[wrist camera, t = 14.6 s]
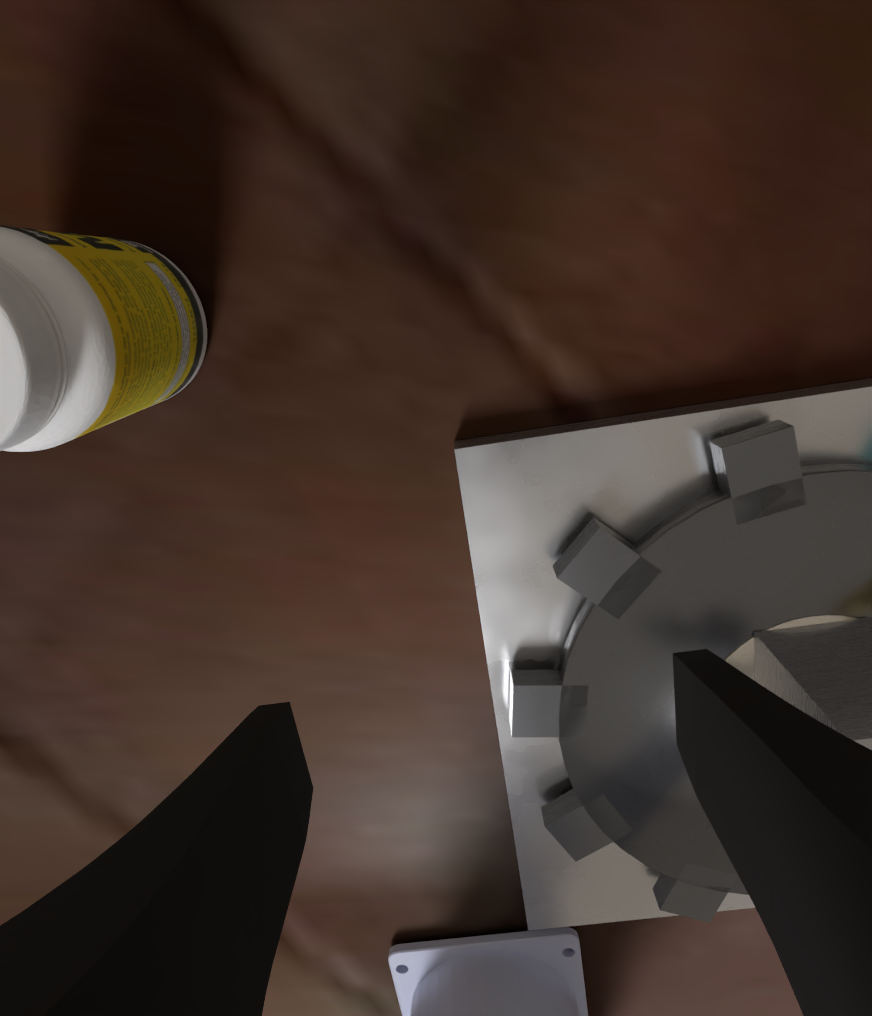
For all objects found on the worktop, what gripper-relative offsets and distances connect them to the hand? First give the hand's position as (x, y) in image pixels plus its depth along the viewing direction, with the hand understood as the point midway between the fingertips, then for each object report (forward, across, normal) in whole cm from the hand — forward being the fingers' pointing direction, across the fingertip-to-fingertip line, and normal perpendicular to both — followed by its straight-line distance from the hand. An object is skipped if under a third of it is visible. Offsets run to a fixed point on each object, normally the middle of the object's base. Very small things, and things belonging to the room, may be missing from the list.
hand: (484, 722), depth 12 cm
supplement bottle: (+10, +9, -8) cm, 16 cm away
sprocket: (+9, -10, +7) cm, 15 cm away
